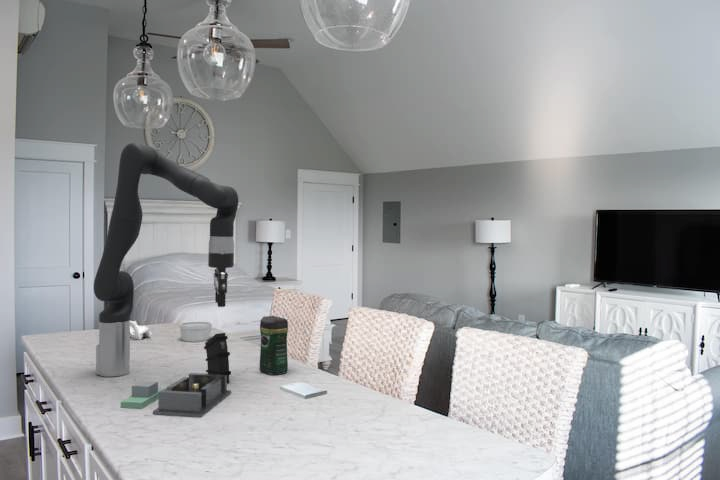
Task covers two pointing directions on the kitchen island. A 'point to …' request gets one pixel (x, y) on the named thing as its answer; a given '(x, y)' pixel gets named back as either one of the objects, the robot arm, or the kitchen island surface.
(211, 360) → the magazine
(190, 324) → the ramekin
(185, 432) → the kitchen island surface
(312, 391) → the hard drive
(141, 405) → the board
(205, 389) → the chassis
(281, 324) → the coffee jar
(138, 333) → the white irregular lump
